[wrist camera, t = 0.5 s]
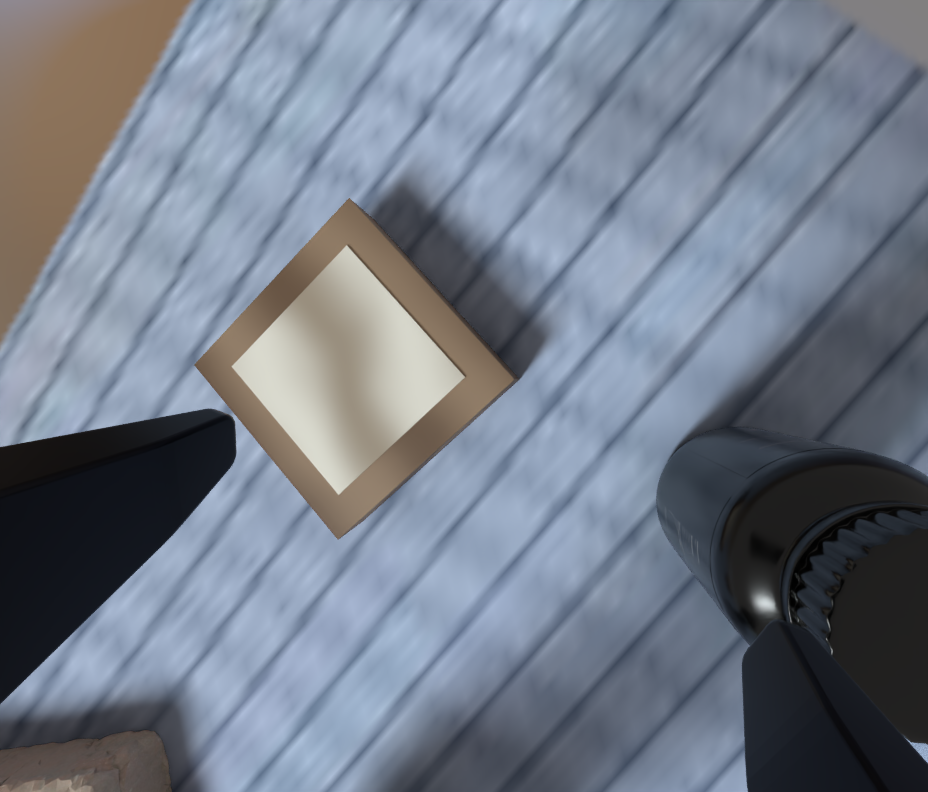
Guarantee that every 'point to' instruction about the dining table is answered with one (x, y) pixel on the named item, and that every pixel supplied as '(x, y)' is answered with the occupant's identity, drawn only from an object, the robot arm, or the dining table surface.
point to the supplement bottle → (811, 551)
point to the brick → (88, 765)
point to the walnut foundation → (353, 369)
